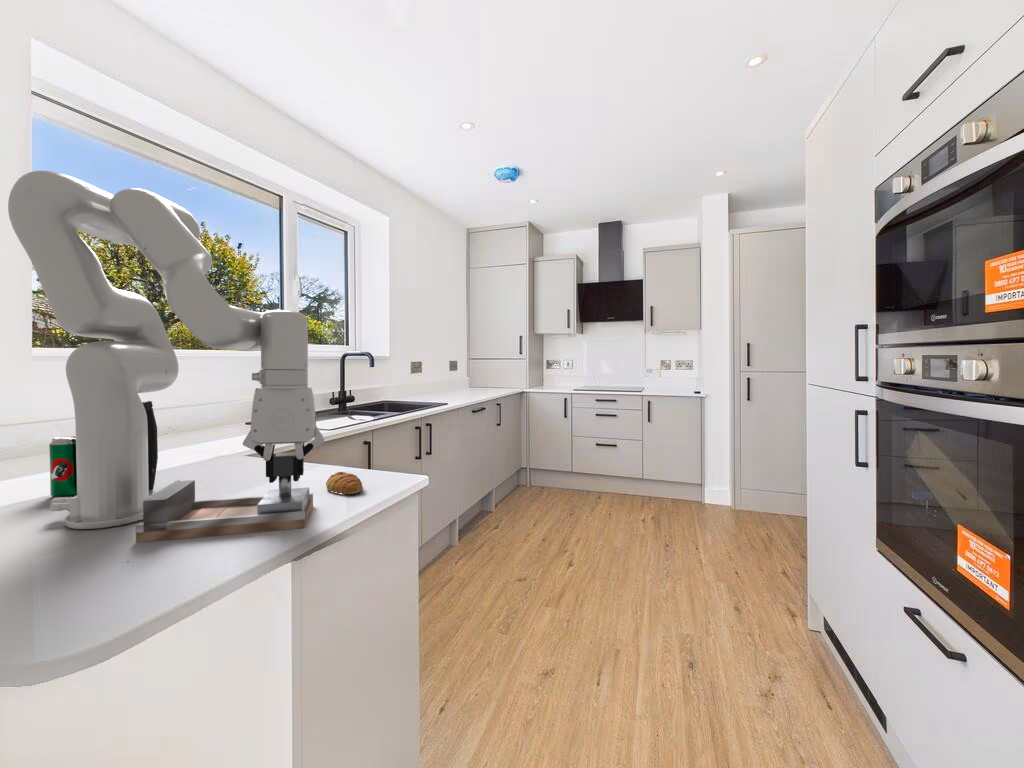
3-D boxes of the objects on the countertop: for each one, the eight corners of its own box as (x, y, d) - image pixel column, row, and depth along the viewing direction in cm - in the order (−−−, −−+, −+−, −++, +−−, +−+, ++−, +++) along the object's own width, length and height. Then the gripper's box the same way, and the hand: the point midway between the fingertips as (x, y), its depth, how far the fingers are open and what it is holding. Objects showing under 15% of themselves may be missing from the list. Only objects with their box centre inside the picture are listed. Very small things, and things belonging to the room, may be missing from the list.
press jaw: (257, 518, 75) (257, 460, 74) (269, 502, 84) (269, 450, 83) (302, 515, 77) (302, 458, 77) (309, 499, 86) (309, 448, 85)
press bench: (136, 542, 69) (135, 501, 68) (169, 516, 80) (168, 481, 80) (304, 527, 76) (304, 490, 76) (313, 506, 87) (313, 474, 87)
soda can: (88, 494, 92) (87, 437, 92) (54, 500, 88) (53, 440, 87) (81, 490, 95) (79, 435, 94) (47, 496, 90) (46, 438, 90)
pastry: (370, 493, 98) (370, 476, 98) (341, 499, 93) (341, 482, 93) (350, 484, 104) (350, 469, 104) (322, 490, 99) (322, 474, 99)
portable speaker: (167, 488, 98) (166, 400, 97) (123, 500, 88) (122, 404, 88) (135, 485, 99) (134, 399, 98) (88, 497, 90) (87, 402, 89)
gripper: (226, 380, 73) (226, 488, 74) (332, 380, 78) (331, 482, 79) (238, 378, 80) (239, 477, 81) (335, 379, 85) (335, 472, 86)
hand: (285, 479), depth 80 cm, fingers closed on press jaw, 3 cm apart
